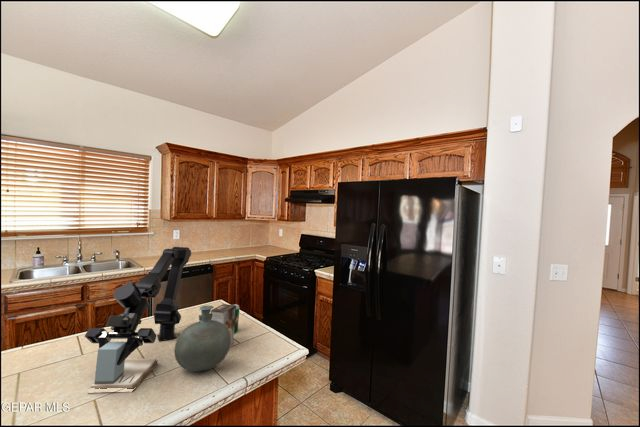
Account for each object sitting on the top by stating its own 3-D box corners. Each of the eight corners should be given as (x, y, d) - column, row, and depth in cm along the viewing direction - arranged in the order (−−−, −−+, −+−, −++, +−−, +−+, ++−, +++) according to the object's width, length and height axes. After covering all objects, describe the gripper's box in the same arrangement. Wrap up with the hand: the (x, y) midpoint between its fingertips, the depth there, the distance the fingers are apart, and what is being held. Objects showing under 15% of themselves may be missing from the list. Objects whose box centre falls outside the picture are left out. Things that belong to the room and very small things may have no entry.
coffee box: (220, 340, 111) (223, 303, 112) (233, 342, 110) (236, 305, 111) (207, 350, 102) (210, 309, 103) (221, 353, 101) (224, 311, 102)
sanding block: (105, 374, 80) (109, 341, 80) (123, 373, 80) (126, 341, 81) (94, 384, 75) (98, 349, 75) (113, 383, 75) (116, 349, 76)
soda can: (226, 329, 122) (228, 304, 123) (237, 328, 124) (239, 303, 125) (226, 334, 118) (229, 307, 118) (238, 333, 120) (240, 307, 120)
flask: (184, 360, 94) (189, 300, 95) (231, 362, 94) (236, 302, 96) (167, 379, 82) (173, 310, 83) (220, 381, 83) (226, 313, 84)
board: (120, 364, 89) (121, 358, 89) (157, 363, 91) (157, 357, 91) (87, 393, 73) (88, 386, 74) (132, 392, 75) (133, 385, 75)
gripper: (92, 302, 81) (58, 355, 70) (155, 303, 84) (133, 355, 72) (106, 318, 88) (77, 369, 77) (164, 319, 91) (145, 367, 80)
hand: (108, 365), depth 76 cm, fingers closed on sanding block, 5 cm apart
